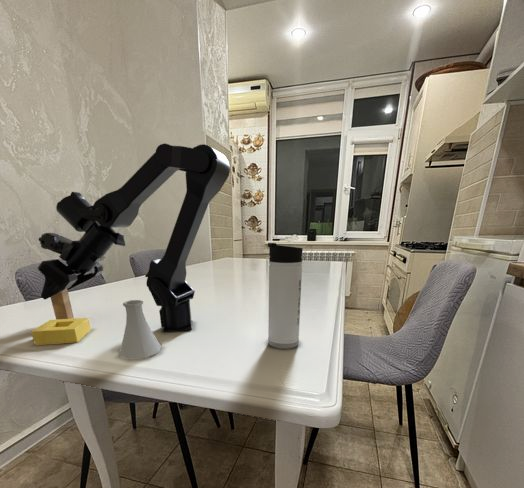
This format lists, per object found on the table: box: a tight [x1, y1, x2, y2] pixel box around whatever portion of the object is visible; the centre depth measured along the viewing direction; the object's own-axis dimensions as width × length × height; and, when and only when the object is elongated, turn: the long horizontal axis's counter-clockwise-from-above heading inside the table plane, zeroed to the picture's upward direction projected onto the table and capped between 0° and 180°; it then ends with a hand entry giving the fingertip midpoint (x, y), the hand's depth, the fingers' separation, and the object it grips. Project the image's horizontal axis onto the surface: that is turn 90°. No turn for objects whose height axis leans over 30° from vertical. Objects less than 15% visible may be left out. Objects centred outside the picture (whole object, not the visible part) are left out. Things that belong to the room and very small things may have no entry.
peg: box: [49, 289, 75, 320], centre depth 71 cm, size 3×3×13 cm
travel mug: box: [267, 242, 304, 350], centre depth 57 cm, size 6×7×20 cm
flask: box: [118, 299, 162, 360], centre depth 54 cm, size 7×7×10 cm
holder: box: [30, 317, 92, 346], centre depth 63 cm, size 8×8×3 cm
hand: (54, 293), depth 70 cm, fingers open, 9 cm apart
